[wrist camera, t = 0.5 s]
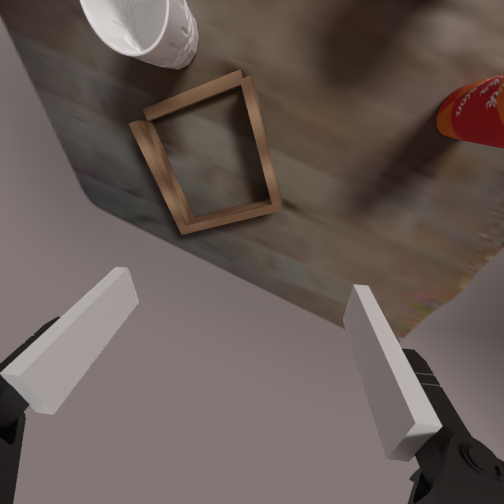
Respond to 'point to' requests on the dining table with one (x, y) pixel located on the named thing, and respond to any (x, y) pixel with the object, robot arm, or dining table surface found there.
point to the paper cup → (475, 113)
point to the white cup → (146, 29)
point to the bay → (166, 175)
